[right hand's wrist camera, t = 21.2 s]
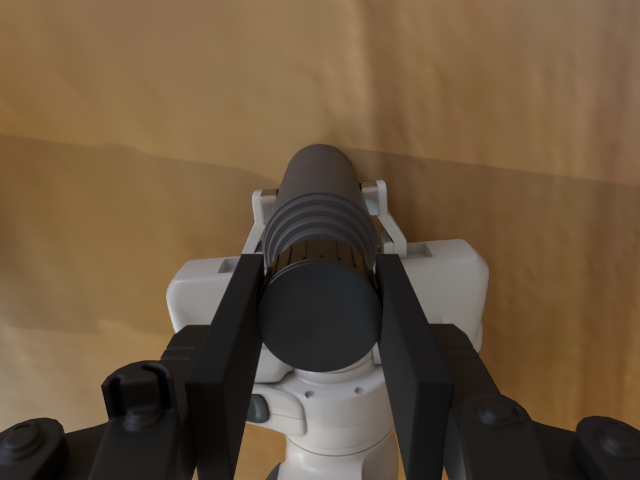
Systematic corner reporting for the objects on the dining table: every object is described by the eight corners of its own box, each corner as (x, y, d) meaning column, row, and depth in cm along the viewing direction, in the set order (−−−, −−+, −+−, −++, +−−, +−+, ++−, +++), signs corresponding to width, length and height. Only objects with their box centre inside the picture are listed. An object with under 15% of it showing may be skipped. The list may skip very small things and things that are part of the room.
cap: (267, 341, 15) (260, 376, 14) (257, 238, 14) (247, 263, 12) (376, 337, 15) (383, 372, 14) (377, 234, 14) (386, 258, 12)
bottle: (363, 156, 31) (424, 264, 13) (340, 219, 32) (366, 390, 15) (297, 134, 30) (264, 214, 12) (277, 199, 32) (223, 352, 14)
